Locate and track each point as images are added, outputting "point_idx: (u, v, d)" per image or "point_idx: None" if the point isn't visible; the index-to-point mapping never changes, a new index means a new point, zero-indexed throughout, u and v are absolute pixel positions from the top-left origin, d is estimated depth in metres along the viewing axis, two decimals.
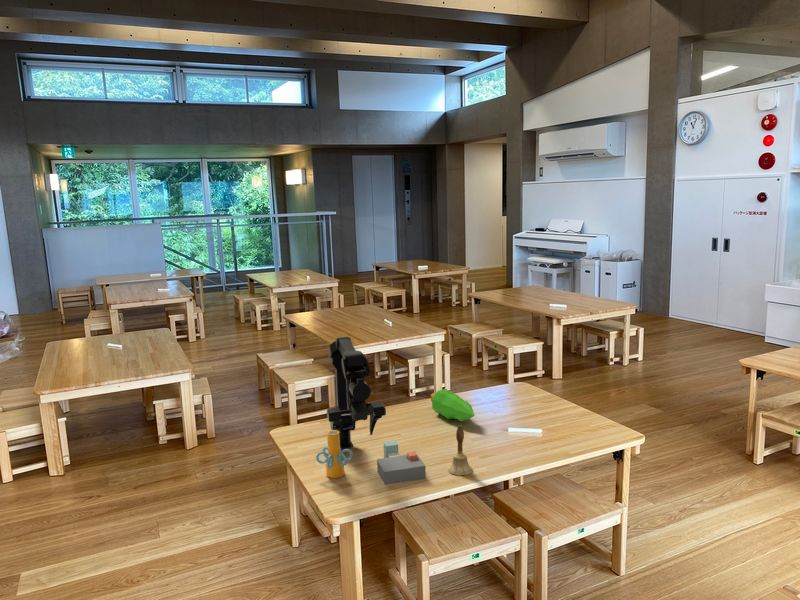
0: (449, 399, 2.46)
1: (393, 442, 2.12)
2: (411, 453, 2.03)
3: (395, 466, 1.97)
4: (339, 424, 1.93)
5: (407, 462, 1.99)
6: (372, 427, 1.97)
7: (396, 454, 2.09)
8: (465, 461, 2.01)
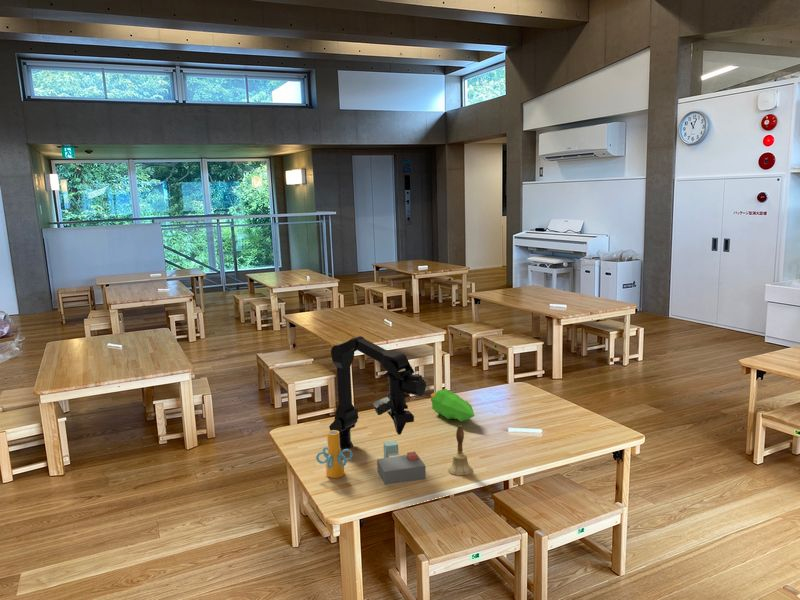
0: (449, 399, 2.46)
1: (393, 442, 2.12)
2: (411, 453, 2.03)
3: (395, 466, 1.97)
4: (391, 416, 2.08)
5: (407, 462, 1.99)
6: (396, 427, 2.06)
7: (396, 454, 2.09)
8: (465, 461, 2.01)
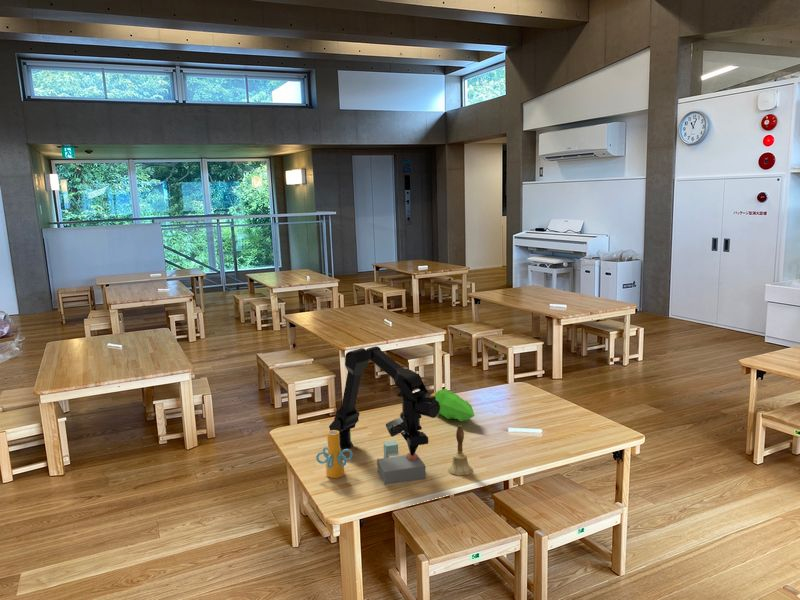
0: (449, 399, 2.46)
1: (393, 442, 2.12)
2: None
3: (395, 466, 1.97)
4: None
5: (407, 462, 1.99)
6: (409, 447, 2.01)
7: (396, 454, 2.09)
8: (465, 461, 2.01)
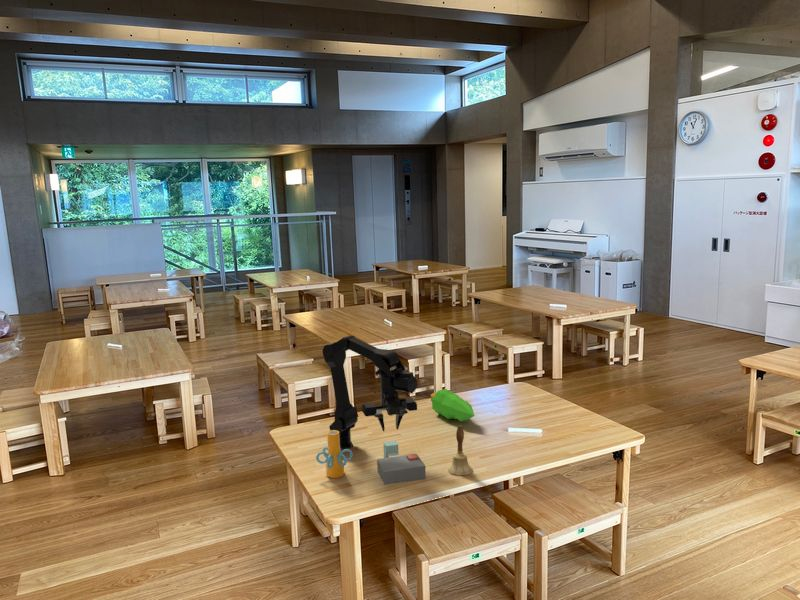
0: (449, 399, 2.46)
1: (393, 442, 2.12)
2: (411, 455, 2.03)
3: (395, 466, 1.97)
4: (380, 418, 2.07)
5: (407, 462, 1.99)
6: (398, 422, 2.10)
7: (396, 454, 2.09)
8: (465, 461, 2.01)
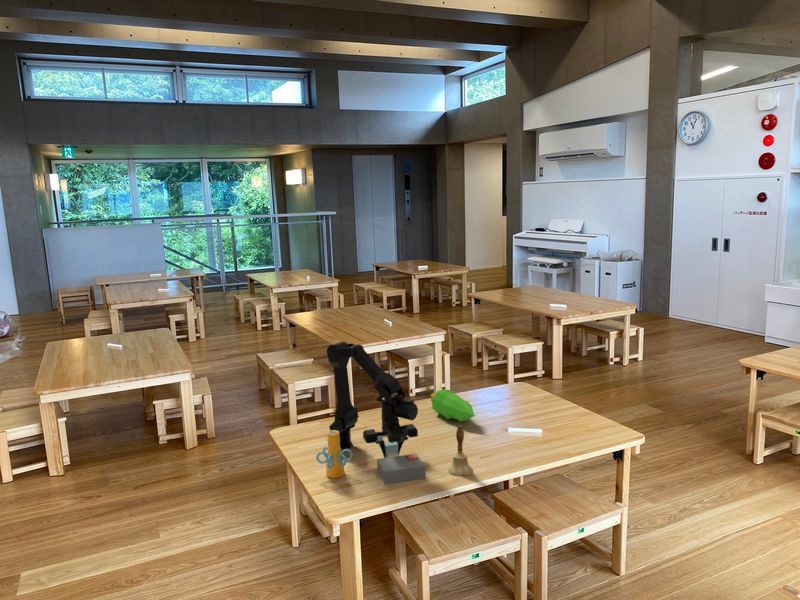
0: (449, 399, 2.46)
1: (393, 442, 2.12)
2: (411, 455, 2.03)
3: (395, 466, 1.97)
4: (381, 444, 2.09)
5: (407, 462, 1.99)
6: (399, 448, 2.12)
7: (396, 454, 2.09)
8: (465, 461, 2.01)
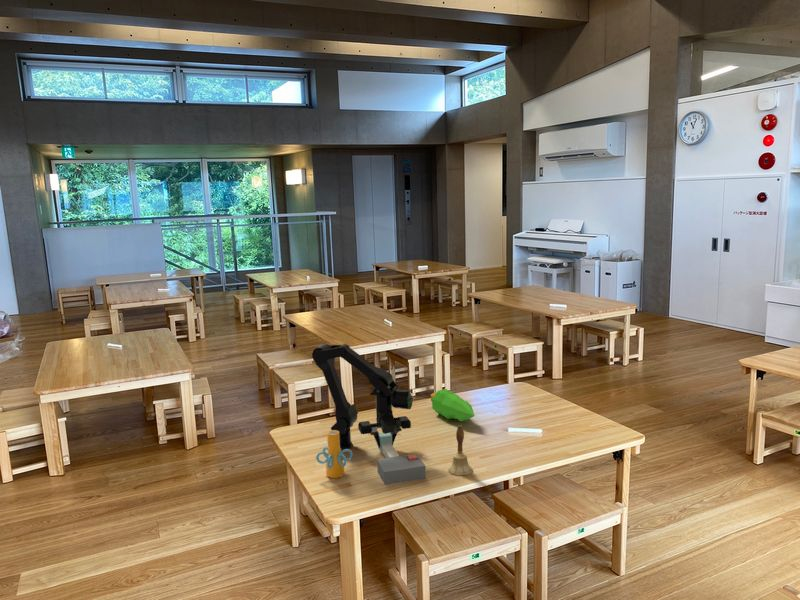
0: (449, 399, 2.46)
1: (387, 433, 2.20)
2: (411, 455, 2.03)
3: (395, 466, 1.97)
4: (376, 435, 2.17)
5: (407, 462, 1.99)
6: (393, 439, 2.20)
7: (390, 445, 2.17)
8: (465, 461, 2.01)
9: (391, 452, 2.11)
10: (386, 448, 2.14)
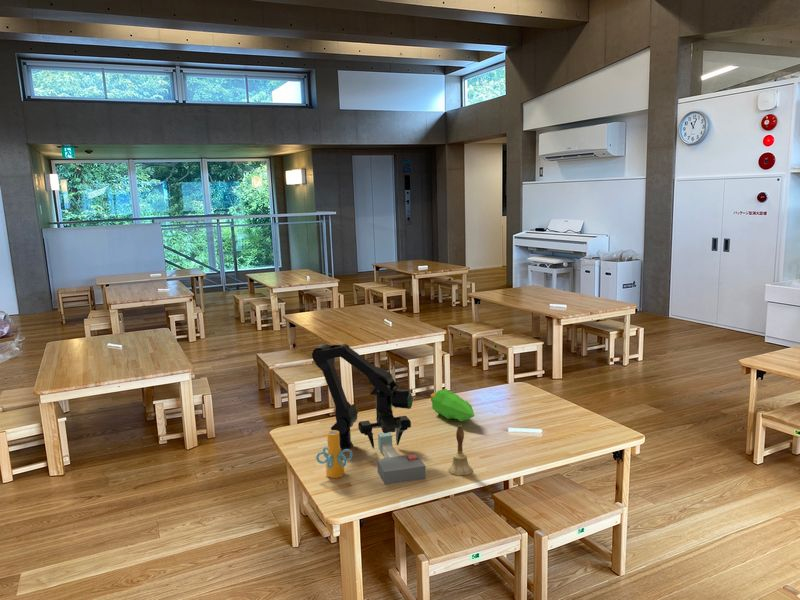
0: (449, 399, 2.46)
1: (387, 433, 2.20)
2: (411, 455, 2.03)
3: (395, 466, 1.97)
4: (370, 436, 2.16)
5: (407, 462, 1.99)
6: (398, 438, 2.20)
7: (390, 445, 2.17)
8: (465, 461, 2.01)
9: (391, 452, 2.11)
10: (386, 448, 2.14)
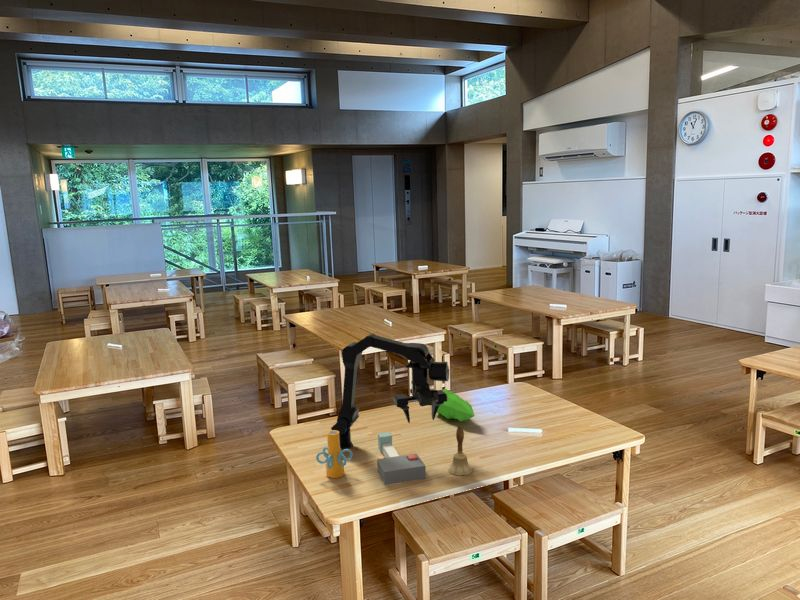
0: (449, 399, 2.46)
1: (387, 433, 2.20)
2: (411, 455, 2.03)
3: (395, 466, 1.97)
4: (406, 409, 2.11)
5: (407, 462, 1.99)
6: (434, 412, 2.15)
7: (390, 445, 2.17)
8: (465, 461, 2.01)
9: (391, 452, 2.11)
10: (386, 448, 2.14)
